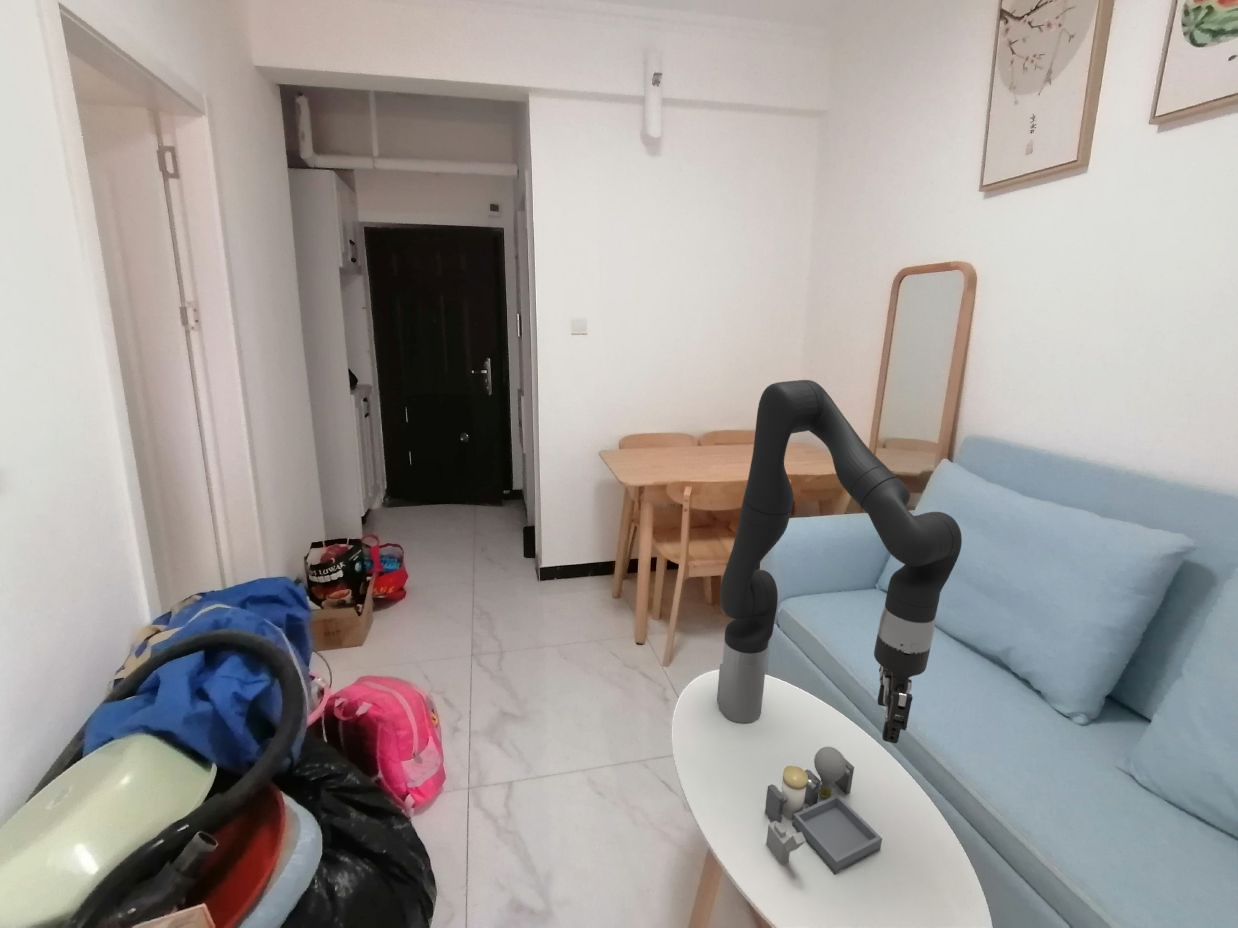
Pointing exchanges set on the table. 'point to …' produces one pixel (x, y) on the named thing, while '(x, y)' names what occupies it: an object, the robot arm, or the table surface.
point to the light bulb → (829, 768)
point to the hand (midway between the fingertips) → (886, 722)
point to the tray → (836, 833)
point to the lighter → (782, 841)
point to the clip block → (777, 799)
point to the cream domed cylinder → (793, 790)
